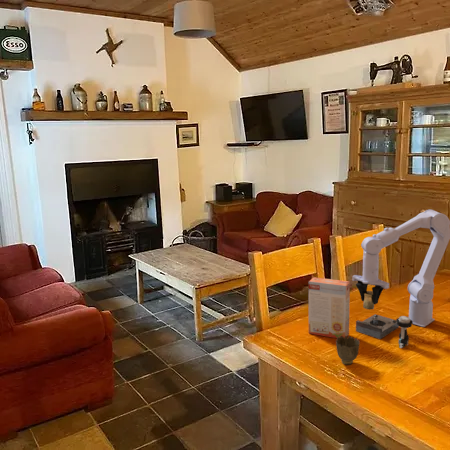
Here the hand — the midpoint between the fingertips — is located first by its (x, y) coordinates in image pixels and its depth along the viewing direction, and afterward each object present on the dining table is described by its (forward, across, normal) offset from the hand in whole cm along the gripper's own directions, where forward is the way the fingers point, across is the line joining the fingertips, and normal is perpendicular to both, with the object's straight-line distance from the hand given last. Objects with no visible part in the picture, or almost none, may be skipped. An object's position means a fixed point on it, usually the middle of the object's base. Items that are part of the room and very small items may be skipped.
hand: (369, 301), depth 176 cm
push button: (+9, +18, -8) cm, 22 cm away
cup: (+9, +12, -32) cm, 36 cm away
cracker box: (+9, -6, -19) cm, 22 cm away
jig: (+9, +5, -3) cm, 11 cm away
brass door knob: (+2, 0, 0) cm, 2 cm away
